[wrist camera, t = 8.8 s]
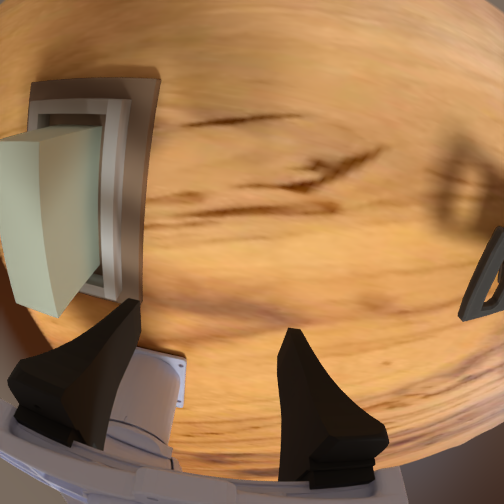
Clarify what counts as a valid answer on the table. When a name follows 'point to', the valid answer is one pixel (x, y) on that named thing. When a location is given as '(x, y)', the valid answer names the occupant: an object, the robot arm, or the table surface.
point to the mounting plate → (109, 167)
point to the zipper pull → (486, 281)
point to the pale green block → (50, 213)
